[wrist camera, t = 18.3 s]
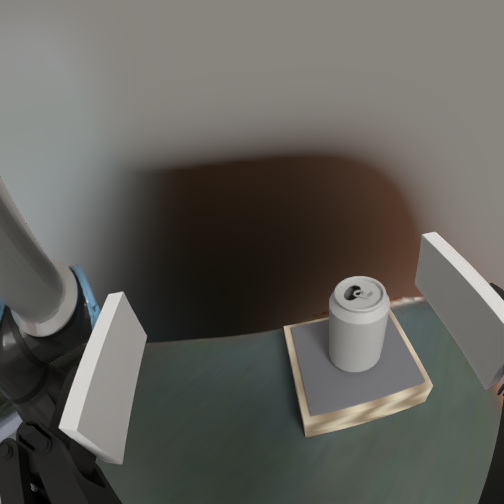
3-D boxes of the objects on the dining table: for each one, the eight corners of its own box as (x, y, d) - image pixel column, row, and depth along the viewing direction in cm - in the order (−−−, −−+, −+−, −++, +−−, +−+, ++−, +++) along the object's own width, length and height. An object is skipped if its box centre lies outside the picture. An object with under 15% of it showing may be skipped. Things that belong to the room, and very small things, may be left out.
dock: (305, 437, 34) (304, 423, 32) (286, 344, 50) (283, 324, 47) (424, 401, 34) (434, 383, 31) (383, 321, 49) (386, 300, 47)
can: (343, 329, 44) (345, 265, 37) (387, 344, 39) (399, 280, 33) (319, 364, 39) (316, 301, 33) (366, 383, 35) (378, 321, 28)
